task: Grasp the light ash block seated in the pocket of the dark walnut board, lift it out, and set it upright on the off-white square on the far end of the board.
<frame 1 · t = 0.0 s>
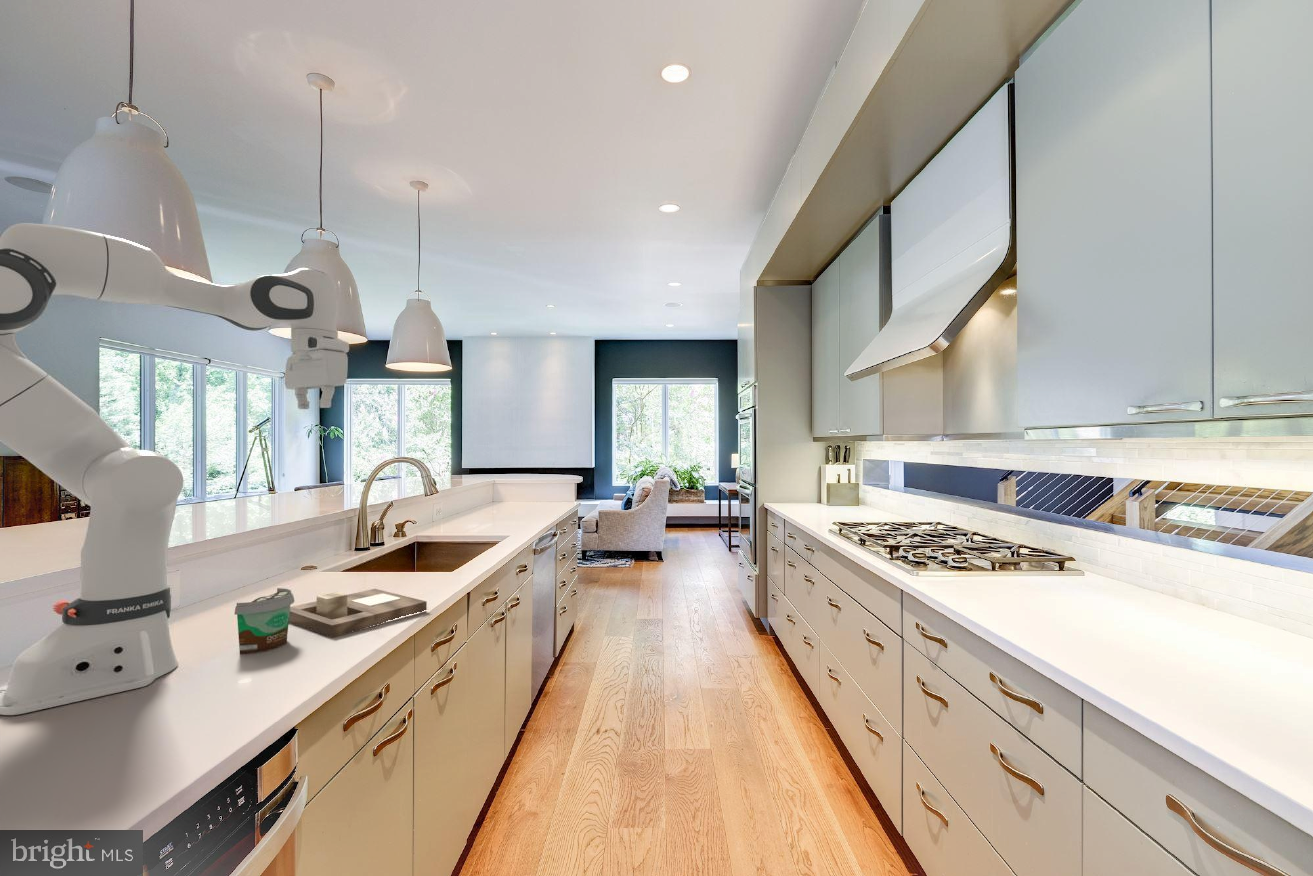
hand: (314, 408, 124), 48 cm above the countertop, tool pointing down, fingers open, 8 cm apart
food container: (272, 646, 113), on the countertop
ash block: (331, 622, 128), resting in pocket board
pocket board: (356, 615, 133), on the countertop
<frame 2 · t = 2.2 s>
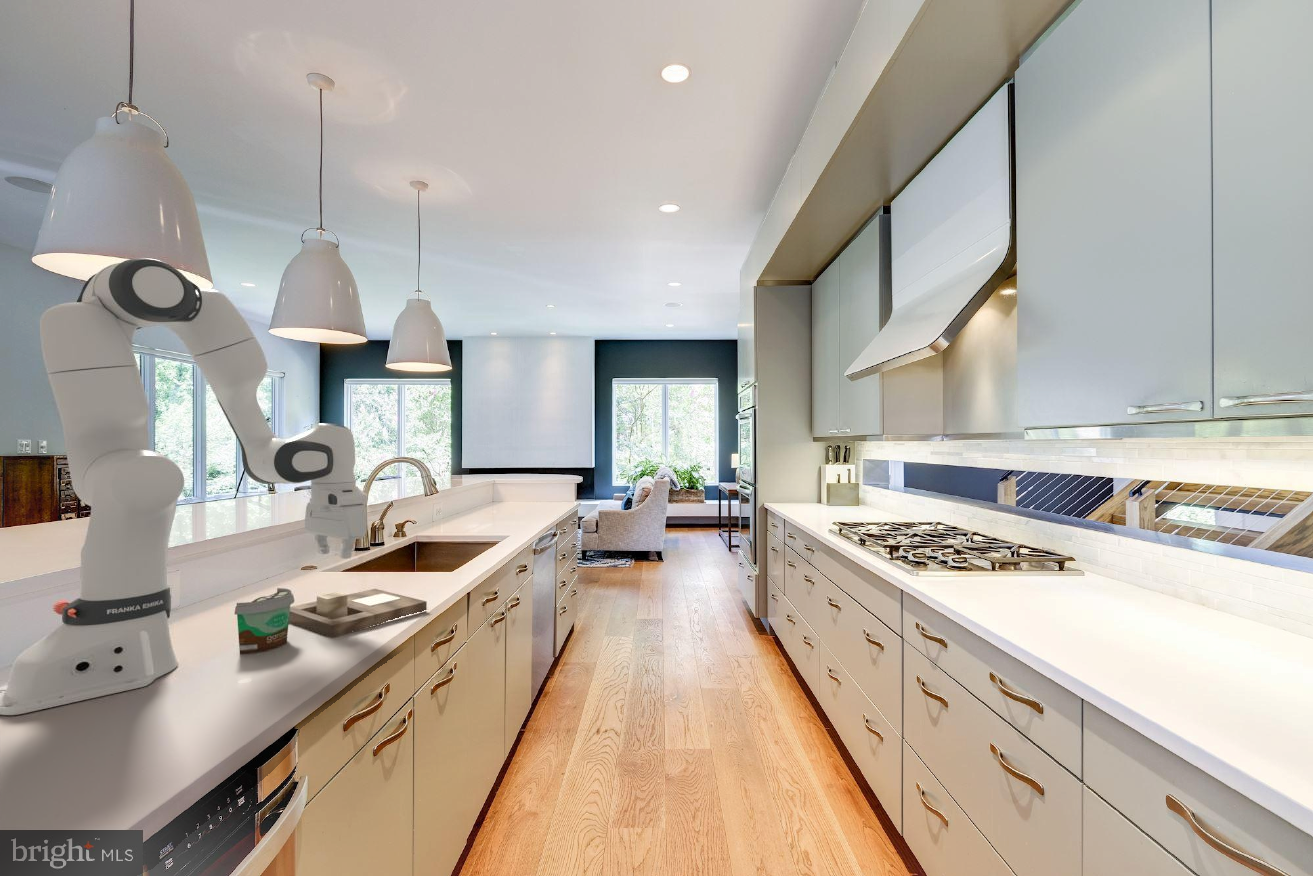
hand: (334, 555, 129), 15 cm above the countertop, tool pointing down, fingers open, 8 cm apart
nothing on the countertop moved.
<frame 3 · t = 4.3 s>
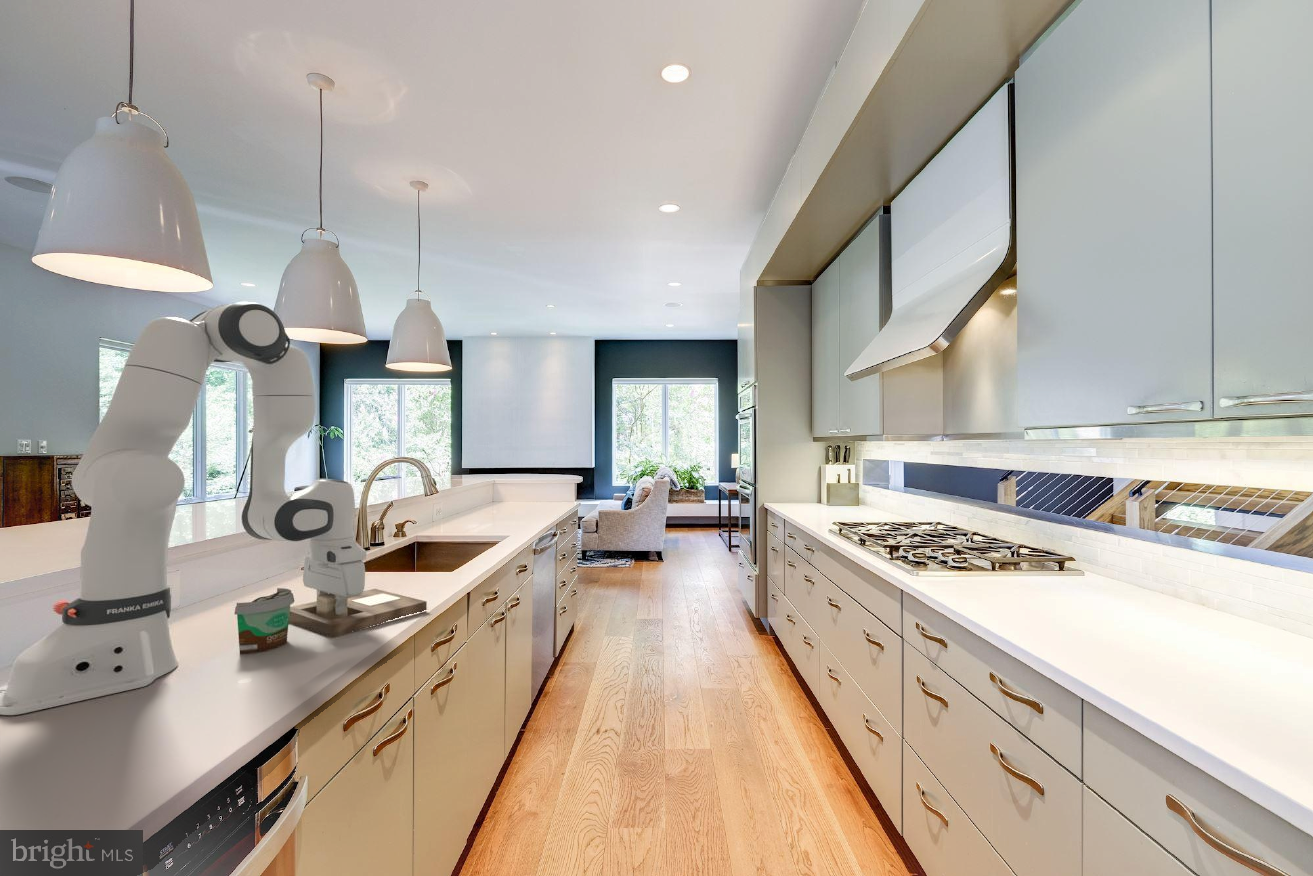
hand: (331, 611, 128), 2 cm above the countertop, tool pointing down, fingers closed on ash block, 4 cm apart
ash block: (331, 621, 128), resting in pocket board, touching gripper
everything else where it was.
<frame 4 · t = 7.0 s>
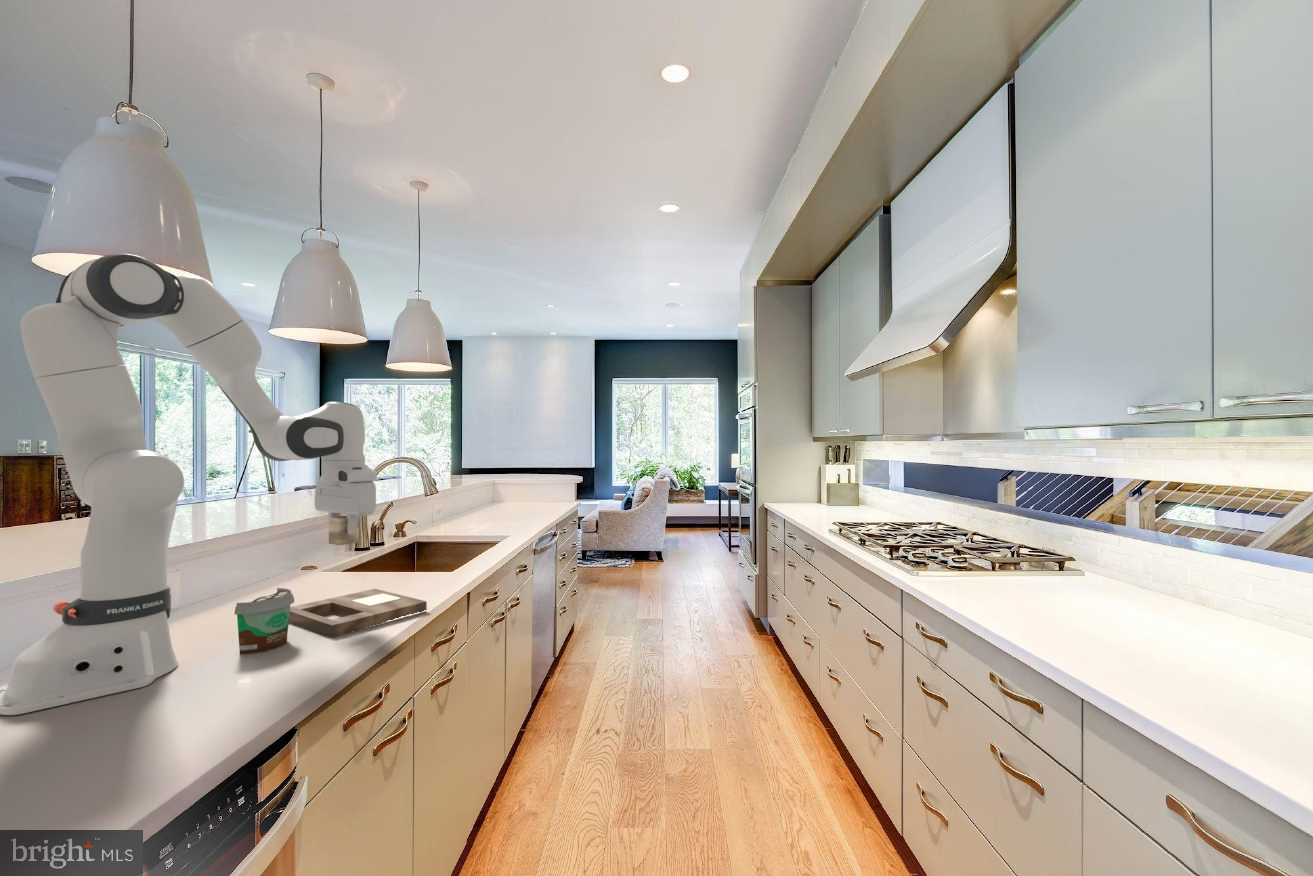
hand: (343, 532, 131), 20 cm above the countertop, tool pointing down, fingers closed on ash block, 4 cm apart
ash block: (343, 542, 131), point 17 cm above the countertop, touching gripper
everything else where it was.
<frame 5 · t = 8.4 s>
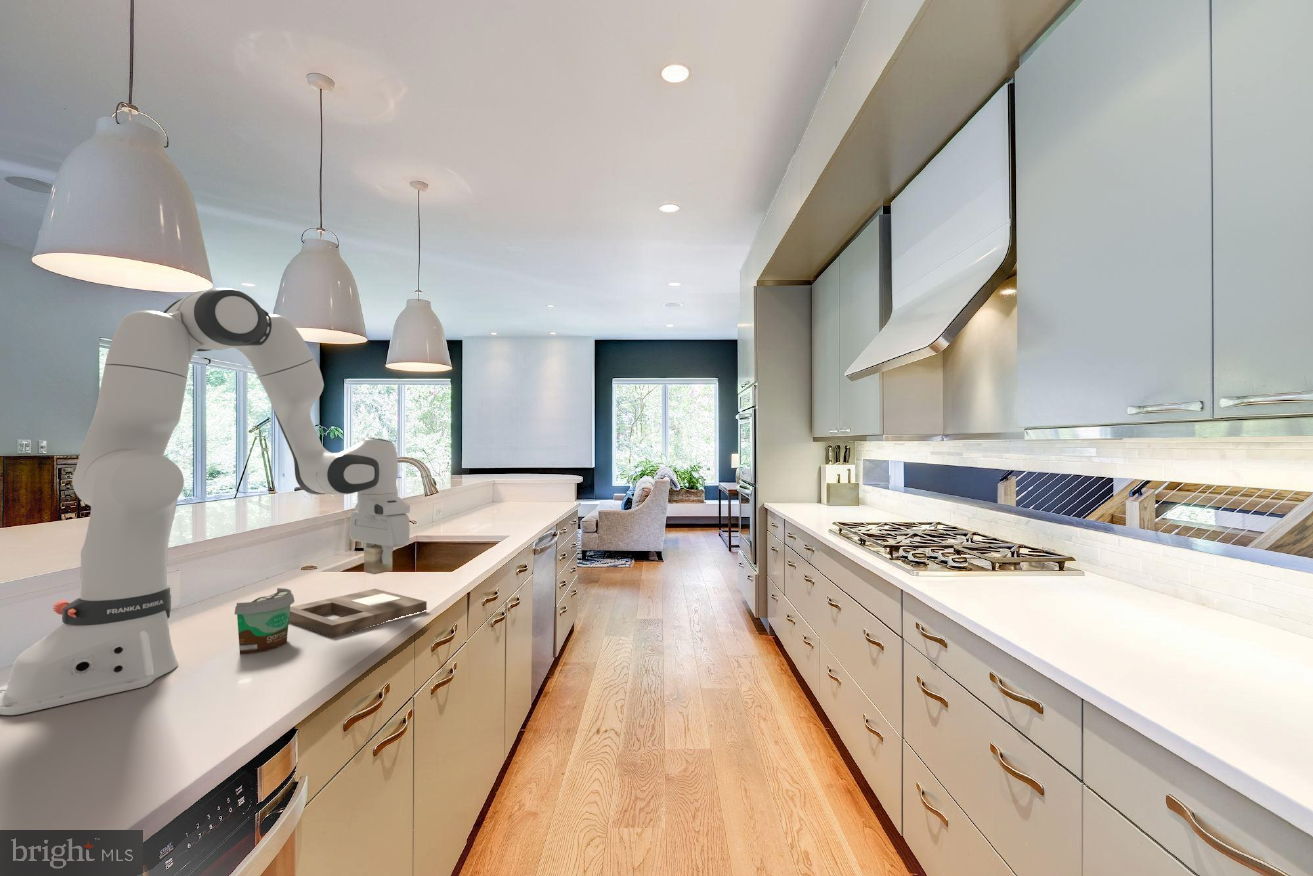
hand: (378, 562, 137), 12 cm above the countertop, tool pointing down, fingers closed on ash block, 4 cm apart
ash block: (378, 571, 137), point 9 cm above the countertop, touching gripper
everything else where it was.
when the fingers open (6 cm above the countertop, at t = 9.7 s): ash block drops 1 cm, resting on pocket board.
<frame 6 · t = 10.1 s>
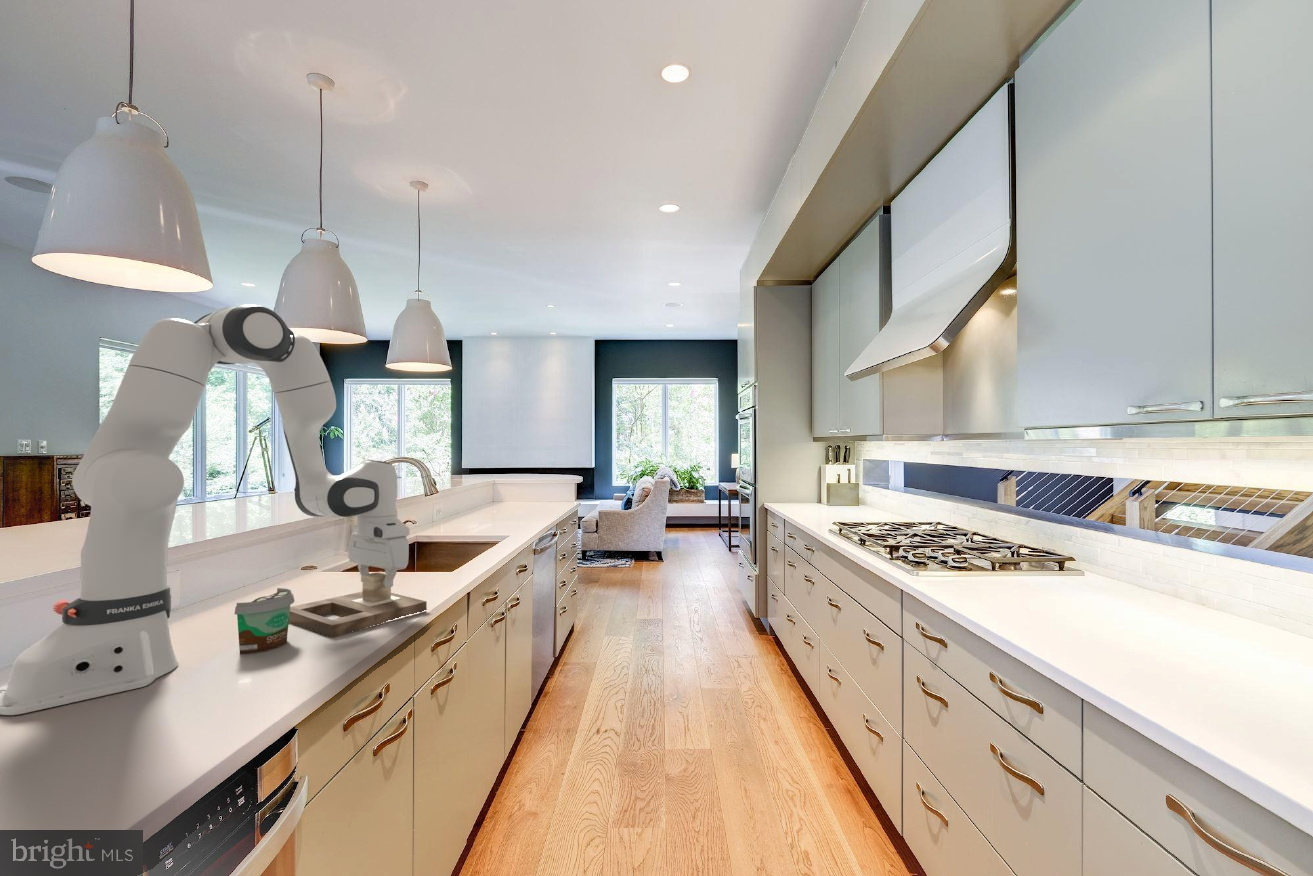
hand: (376, 584, 137), 6 cm above the countertop, tool pointing down, fingers open, 8 cm apart
ash block: (376, 599, 137), point 3 cm above the countertop, touching pocket board
everything else where it was.
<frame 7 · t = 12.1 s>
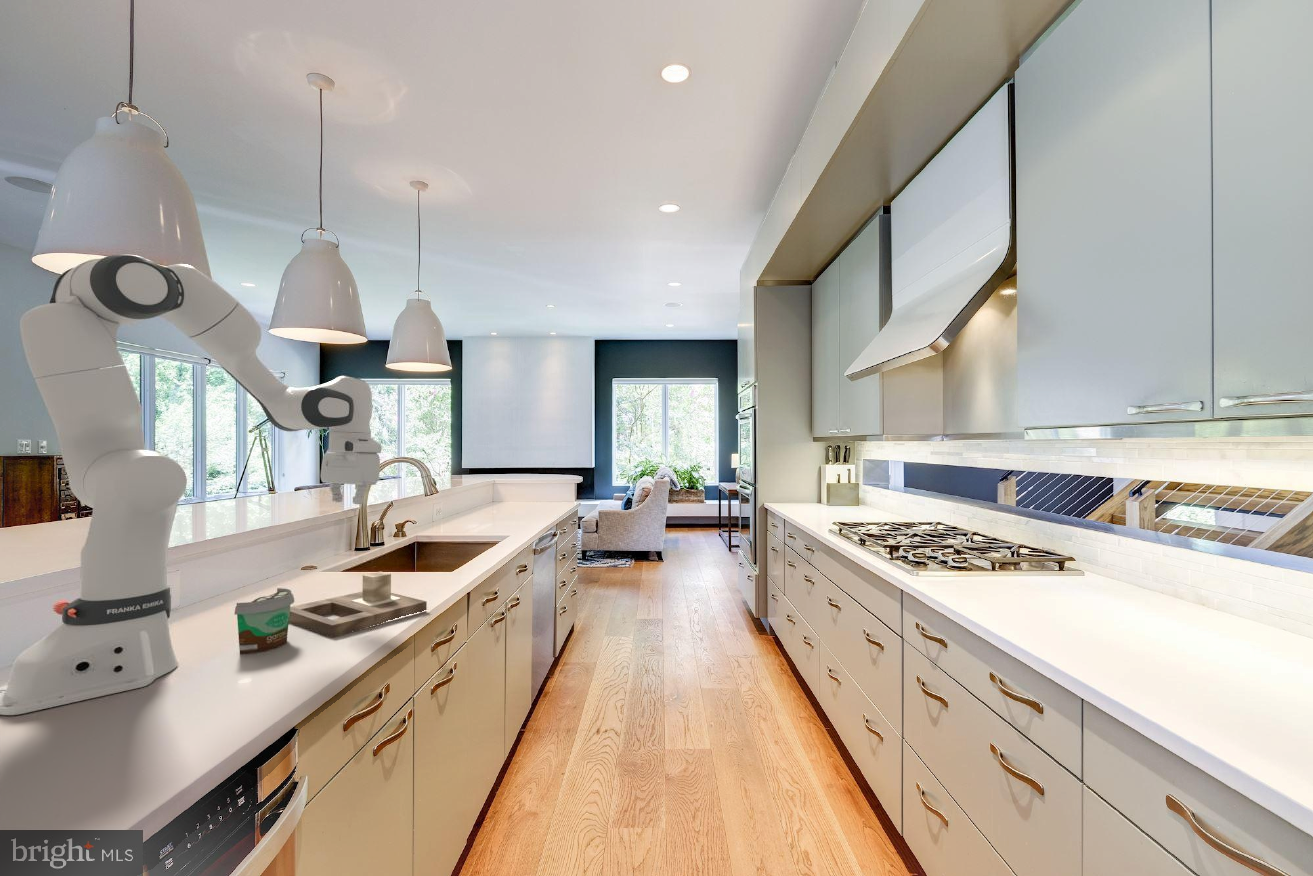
hand: (347, 503, 135), 26 cm above the countertop, tool pointing down, fingers open, 8 cm apart
nothing on the countertop moved.
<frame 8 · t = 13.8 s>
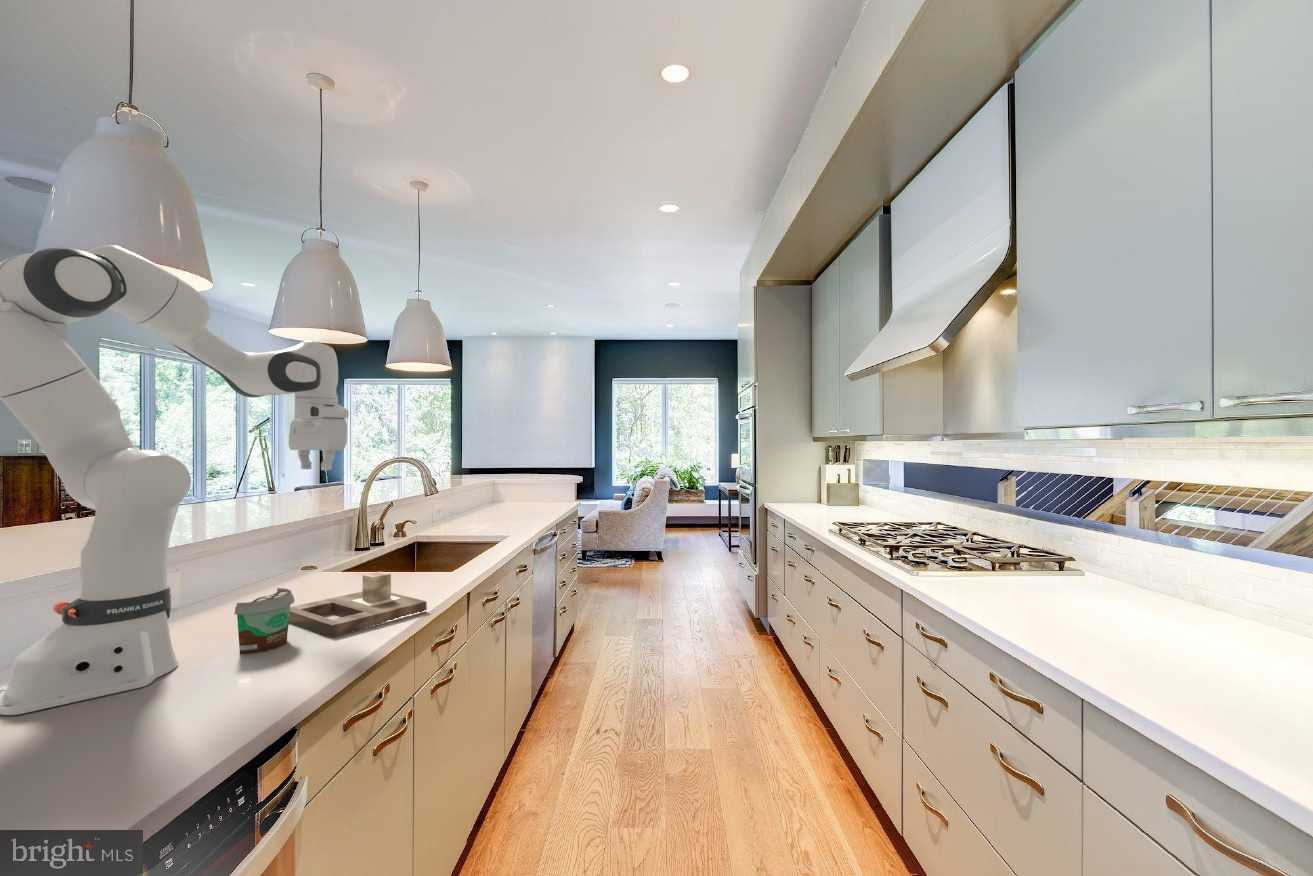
hand: (316, 469, 134), 34 cm above the countertop, tool pointing down, fingers open, 8 cm apart
nothing on the countertop moved.
at the end: ash block inside the target area on the pocket board (0.0 cm from its centre), point 2.7 cm above the pocket board's base; ash block tilted 0°; the gripper is holding nothing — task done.
